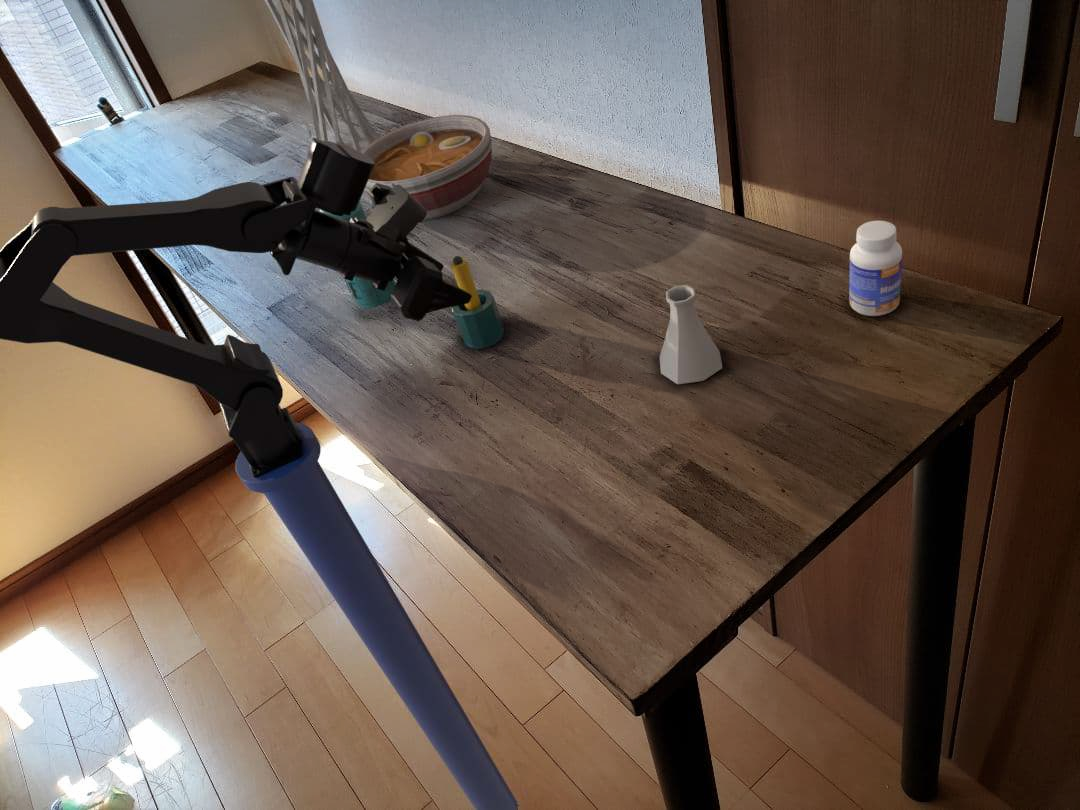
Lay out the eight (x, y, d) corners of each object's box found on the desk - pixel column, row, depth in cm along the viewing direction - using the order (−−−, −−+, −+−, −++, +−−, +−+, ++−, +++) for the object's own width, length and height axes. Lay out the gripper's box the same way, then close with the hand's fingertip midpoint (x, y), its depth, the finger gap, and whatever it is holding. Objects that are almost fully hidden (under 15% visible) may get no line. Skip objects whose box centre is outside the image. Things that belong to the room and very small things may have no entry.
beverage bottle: (410, 293, 122) (359, 168, 109) (381, 321, 118) (325, 195, 105) (377, 287, 125) (324, 165, 112) (349, 314, 121) (291, 191, 108)
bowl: (465, 155, 153) (449, 103, 146) (530, 191, 136) (515, 134, 130) (354, 211, 146) (332, 158, 140) (409, 255, 130) (386, 198, 124)
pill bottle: (886, 322, 94) (890, 248, 87) (840, 310, 97) (841, 238, 91) (907, 295, 96) (912, 221, 90) (862, 285, 99) (863, 213, 93)
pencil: (478, 339, 108) (451, 263, 101) (473, 332, 110) (446, 256, 102) (492, 333, 109) (466, 256, 101) (487, 326, 110) (461, 250, 103)
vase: (393, 136, 167) (324, -53, 144) (377, 168, 157) (300, -30, 135) (331, 148, 170) (254, -36, 148) (311, 180, 161) (226, -12, 138)
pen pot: (472, 354, 107) (459, 320, 104) (458, 334, 111) (446, 300, 108) (509, 337, 108) (498, 303, 104) (495, 317, 112) (484, 284, 108)
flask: (673, 393, 93) (661, 322, 87) (649, 357, 99) (636, 288, 92) (733, 371, 93) (726, 299, 87) (706, 336, 99) (698, 266, 92)
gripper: (394, 207, 85) (516, 253, 94) (343, 153, 98) (454, 198, 108) (352, 304, 88) (474, 339, 98) (309, 239, 102) (419, 275, 111)
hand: (455, 283), depth 103 cm, fingers open, 9 cm apart
